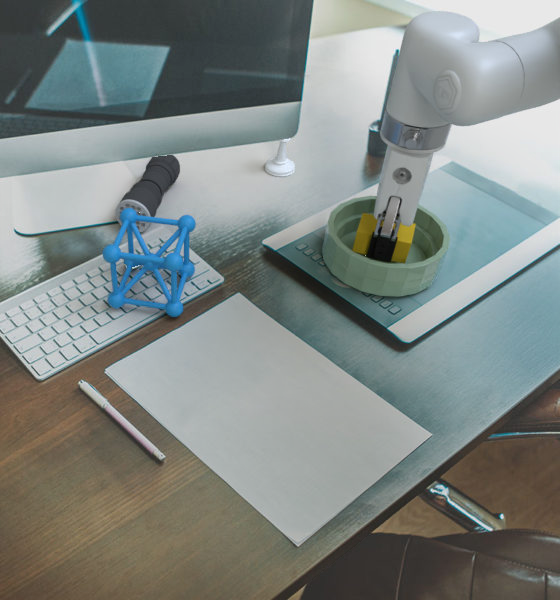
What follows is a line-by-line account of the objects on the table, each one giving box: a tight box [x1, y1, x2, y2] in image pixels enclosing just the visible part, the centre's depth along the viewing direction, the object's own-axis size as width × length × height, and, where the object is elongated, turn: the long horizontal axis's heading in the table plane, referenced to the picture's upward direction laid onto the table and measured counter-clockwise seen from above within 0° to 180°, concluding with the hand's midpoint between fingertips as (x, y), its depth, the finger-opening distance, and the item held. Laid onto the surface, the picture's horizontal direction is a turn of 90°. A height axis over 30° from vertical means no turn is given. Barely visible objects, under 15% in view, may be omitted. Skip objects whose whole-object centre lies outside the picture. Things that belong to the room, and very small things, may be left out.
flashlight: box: [114, 154, 181, 233], centre depth 100 cm, size 15×5×5 cm, turn 160°
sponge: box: [352, 213, 416, 264], centre depth 88 cm, size 7×4×4 cm, turn 67°
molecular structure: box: [101, 208, 197, 318], centre depth 83 cm, size 10×10×10 cm
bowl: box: [321, 195, 451, 297], centre depth 88 cm, size 16×16×6 cm
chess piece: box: [264, 137, 296, 178], centre depth 104 cm, size 5×5×10 cm
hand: (382, 246), depth 89 cm, fingers closed on sponge, 4 cm apart
